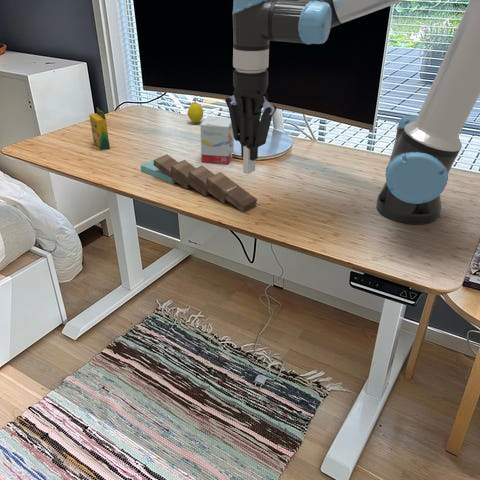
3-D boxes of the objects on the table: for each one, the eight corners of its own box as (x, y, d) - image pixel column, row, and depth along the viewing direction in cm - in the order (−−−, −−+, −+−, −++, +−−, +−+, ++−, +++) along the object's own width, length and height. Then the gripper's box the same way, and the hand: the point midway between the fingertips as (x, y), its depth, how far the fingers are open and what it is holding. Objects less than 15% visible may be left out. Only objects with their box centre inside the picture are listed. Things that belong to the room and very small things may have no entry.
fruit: (190, 126, 173) (189, 104, 169) (186, 121, 177) (185, 99, 173) (205, 125, 174) (204, 102, 170) (201, 120, 179) (200, 98, 175)
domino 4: (238, 191, 125) (202, 165, 130) (225, 197, 122) (189, 171, 126) (236, 196, 126) (201, 171, 131) (223, 203, 123) (187, 176, 128)
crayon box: (93, 143, 158) (87, 108, 152) (102, 142, 159) (97, 106, 153) (101, 150, 153) (95, 114, 147) (110, 148, 154) (105, 112, 148)
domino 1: (185, 171, 135) (153, 159, 142) (172, 177, 132) (140, 164, 139) (185, 178, 136) (154, 165, 143) (172, 184, 133) (141, 171, 140)
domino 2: (200, 177, 132) (167, 154, 136) (188, 184, 128) (154, 159, 133) (199, 183, 133) (166, 159, 137) (187, 189, 130) (153, 165, 134)
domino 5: (257, 199, 121) (220, 171, 126) (244, 206, 118) (207, 177, 123) (255, 205, 122) (219, 177, 127) (242, 212, 119) (205, 183, 124)
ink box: (228, 164, 144) (228, 126, 138) (200, 162, 145) (199, 123, 139) (234, 154, 151) (234, 116, 145) (208, 152, 153) (206, 114, 146)
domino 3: (219, 184, 128) (184, 159, 133) (206, 191, 125) (171, 165, 130) (217, 190, 130) (183, 165, 134) (205, 196, 126) (170, 171, 131)
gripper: (286, 70, 102) (280, 173, 115) (238, 61, 109) (238, 159, 122) (264, 77, 97) (261, 184, 110) (216, 67, 104) (218, 169, 117)
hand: (249, 171), depth 116 cm, fingers closed
